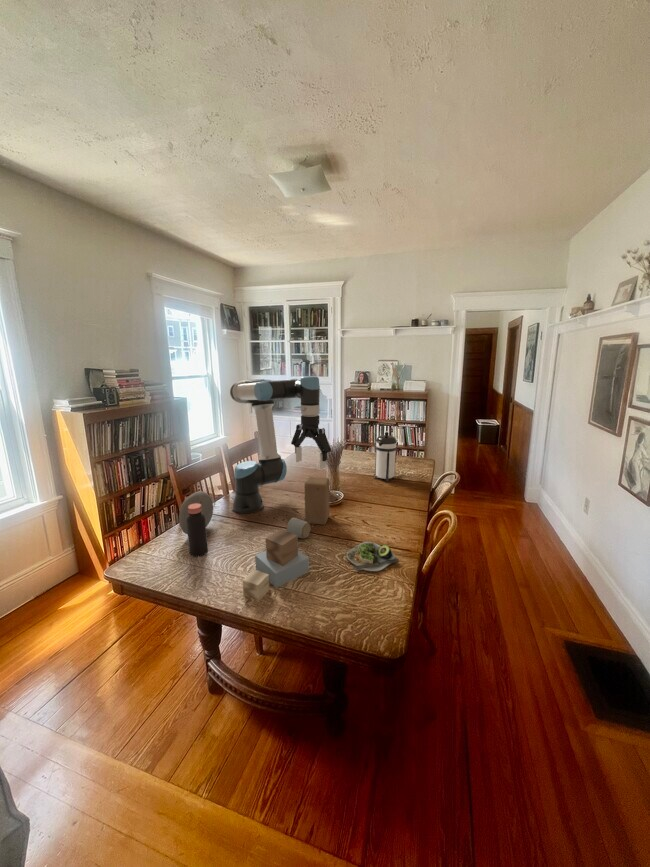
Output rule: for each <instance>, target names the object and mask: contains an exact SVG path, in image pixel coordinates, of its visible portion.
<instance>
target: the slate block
mask: <svg viewBox="0 0 650 867" xmlns="http://www.w3.org/2000/svg"><path fill="white" fill-rule="evenodd" d="M254 557H255V560H254V561H255V570H257V571H260V572H263V573H266V574H269V584H272V586H273V587H274V588H275V589H277V588H280V587H281V586H283V585H285V584H287V583H289V582H291V581H294V580H295V579H298V578H300V577H301V576H304V575H305V574H307V573H309V572H310V557H309V556H307V555H306V554H305V553H303V552H302V551H301V550H299V549H298V555H297V556H296V557H295V558H293V559H292V560H291V561H289V562H288V563H287V564H285V565H284V566H282V565H280V564H278V563H276V562H274V561H271V560H269V559H267V556H266V550H264V551H262V552H259V553H257V554H254Z"/></svg>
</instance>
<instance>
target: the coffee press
mask: <svg viewBox="0 0 650 867" xmlns="http://www.w3.org/2000/svg"><path fill="white" fill-rule="evenodd" d="M375 442H376V443H375V459H374V460H375V461H374V462H375V463H374V473H373V476H372V478H373V479H376V478H379V479H384V480H385V482H386V483H389V482H390V481H389V479H392V478H394V479H397V476H396V462H397V452H398V451H397V442H398V440H397V439H396V437H395V436H393V435H389V432H388V431H386V432H385V433H384V434H382V435H379V436H377V438H376V439H375Z"/></svg>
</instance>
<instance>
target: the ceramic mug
mask: <svg viewBox="0 0 650 867" xmlns="http://www.w3.org/2000/svg"><path fill="white" fill-rule="evenodd" d="M310 524H311V523H308V522H306V521H305V520H302V519H299V518H297V517H291V519H289V521H288V523H287V527H286V531H288V532H290V533H293V534H295V535H298V539H303V540H304V539H306V538H308V536H309V534H310V532H311V525H310Z"/></svg>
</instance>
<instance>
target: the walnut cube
mask: <svg viewBox="0 0 650 867" xmlns="http://www.w3.org/2000/svg"><path fill="white" fill-rule="evenodd" d="M298 539H299V538H298V535H295V534H293V533H290V532H288V531H287V530H285V529H283V528H280V529H278V530H277V531H275V532H273V533H272V534H270V535H269V536H267V537H265V551H266V556H267V559H269V560H271V561H274V562H276V563H278V564H280V565H282V566H284V565H285V564H287V563H288V562H289V561H291V560H292V559H293V558H295V557H296V556H297V555H298V550H299V549H298V548H299V546H298V545H299V541H298Z"/></svg>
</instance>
